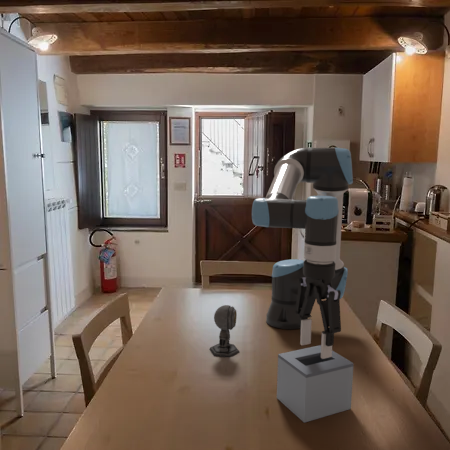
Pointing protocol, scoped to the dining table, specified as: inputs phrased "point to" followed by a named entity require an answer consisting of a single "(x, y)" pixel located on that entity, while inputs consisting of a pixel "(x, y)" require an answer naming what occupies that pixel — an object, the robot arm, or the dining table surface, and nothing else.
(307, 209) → the robot arm
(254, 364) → the dining table surface
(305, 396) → the coin box
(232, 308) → the figurine
